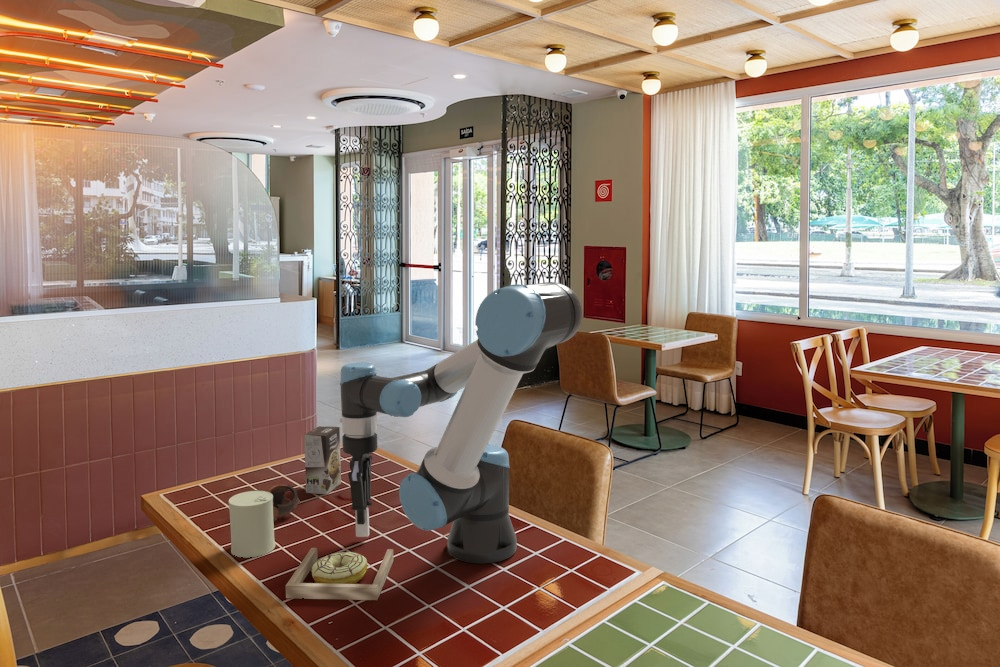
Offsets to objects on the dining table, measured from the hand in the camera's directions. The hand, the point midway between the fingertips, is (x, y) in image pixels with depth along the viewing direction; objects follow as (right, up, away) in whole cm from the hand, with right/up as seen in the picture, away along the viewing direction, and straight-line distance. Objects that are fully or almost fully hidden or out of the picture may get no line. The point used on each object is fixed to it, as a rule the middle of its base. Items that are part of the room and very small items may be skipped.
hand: (362, 535), depth 158 cm
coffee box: (-17, +3, +33) cm, 37 cm away
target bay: (-1, -4, -16) cm, 17 cm away
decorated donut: (-1, -4, -16) cm, 17 cm away
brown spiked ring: (-24, +1, +16) cm, 29 cm away
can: (-23, -2, -4) cm, 24 cm away
